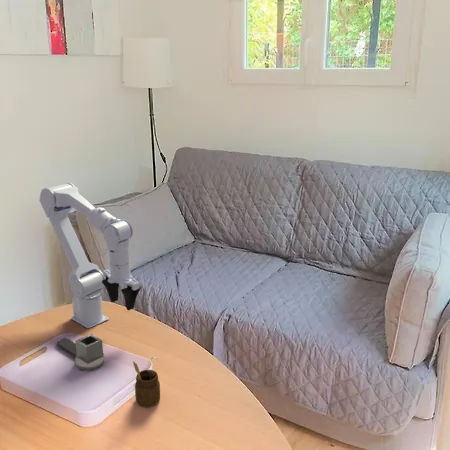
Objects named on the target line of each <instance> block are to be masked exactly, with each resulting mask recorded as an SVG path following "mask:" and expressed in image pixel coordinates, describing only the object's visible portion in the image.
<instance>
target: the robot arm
mask: <svg viewBox="0 0 450 450" xmlns="http://www.w3.org/2000/svg"><path fill="white" fill-rule="evenodd" d="M39 202H40V205H41V207H42V209H43V212H44V213H45V216H46V218H48V219H49V221H50V224H51V227H52V228H53V230H54V232H55V234H56V237H57V239H58V241H59V243H60V245H61V249H62V250H63V252H64V253H65V256H66V259H67V260H68V262H69V265H70V266H71V269H72V270H70V273H69V275H68V278H67V279H68V282H69V286H70V291H71V293H72V295H73V296H72V299H71V304H72V314H73V315H72V316H71V320H72V321H75V322H76V323H78V324H80V325H81V326H83V327H85V328H86V329H89V328H92V327H94V326H97V325H99V324H102V323H104V322H106V321H108V320H109V317H108V316H106V315H104V312H103V297H102V293H104V288H105V289H106V292H107V294H108V297H109V300H110V302H111V303H114V302H116V301H118V300H119V290H120V292H121V293H122V295H123V297H124V303H125V308H126V311H131V310H133V309H135V305H136V300H137V297H138V294H139V293H140V291H141V288H142V287H141V285H140V281H137V279H135V278H134V277H133V275H132V274H131V258H130V241H129V239H131V238H132V236H133V226H132V224H131V223H130V222H129V221H128V220H126V219H120V218H116V216H114V215H112V214H111V213H110V212H108V211H107V210H106V209H105V208H104V207H95V206H94V205H93V204H91V203H90V201H88V200H87V199H86V198H85V197H84V196H82V195H81V194H80V191H79V188H78V187H77V186H75V184H73V183H72V182H66V183H62V184H59V185H54V186H50V187H45V188H43V189H41V192H40V194H39ZM72 209H74V210H75V211H77V212H78V213H81V214H82V215H84V216H85V217H87V222H88V224H89V225H91V227H93V228H95V229H96V230H98V231H99V232H100V233H101V234H102V236H103V239H104V241H105V243H106V248H107V249H108V259H109V268H106V269H105V270H101V269H100V267H99V265H97V264H96V263H92V262H90V261H89V259H88V258H87V255H86V253H85V250H84V248H83V246H82V243H80V239H79V238H78V235H77V234H76V231H75V229H74V227H73V225H72V223H71V220H70V218H69V213H70V212H71V211H72ZM102 271H103V272H102ZM120 285H125V286H126V287H124V288H122V289H119V287H120Z"/></svg>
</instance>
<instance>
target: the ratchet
mask: <svg viewBox="0 0 450 450" xmlns="http://www.w3.org/2000/svg"><path fill="white" fill-rule="evenodd" d="M55 345H56V347H57V348H59V349H60V350H62V351H64V352H65V353H67V354H68V355H69V356H71V357H72V358H73V359H74V360H75V367H76V368H77V369H78V370H80V371H85V372H86V371H87V372H88V371H89V372H91V371H95V370H97V369H99V368H101V367H102V366H104V364H105V353H104V352H103V357H101V358H99V359H97V360H95V361H93V362H91V363H89V364H87V363H85V362H84V361H82V360H81V359H79V358H78V357H77V352H76V342H75V341H72V340H71V339H69V338H68V337H64V338H61V339H59V340H56V341H55Z"/></svg>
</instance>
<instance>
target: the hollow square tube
mask: <svg viewBox="0 0 450 450" xmlns="http://www.w3.org/2000/svg"><path fill="white" fill-rule="evenodd" d="M74 343H76V352H77V357H78V358H79V359H81V360H82V361H84V362H85V363H87V364H89V363H91V362H93V361H95V360H97V359H99V358H101V357H103V353H104V348H103V345H104V344H103V339H101V338H99V337H97V336H96V335H94V334H93V333H90V334H88V335H86V336H83V337H81V338H78V339H76V340H75V341H74Z"/></svg>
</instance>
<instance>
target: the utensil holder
mask: <svg viewBox="0 0 450 450" xmlns="http://www.w3.org/2000/svg"><path fill="white" fill-rule="evenodd" d="M152 360H153V361H152ZM157 360H158V358H156V357H154V356H153V357H151V358H150V361H149V362H148V364H147V365H148V366H151V361H152V362H155V361H157ZM132 363H133V368H134V370H135V372H136V373H137V374H136V378H135V384H134V392H135V402H136V404H137V405H138V406H139V407H142V408H150V407H154V406H156V405H157V404H158V403H159V402H160V400H161V384H160V381H159V374H158V373H157V370H158V369H159V367H158V366H156V367H155V366H154V365H152V368H154V367H155V370H154V369H144V370H140V369H139V366H138V363H136V362H135V361H134V360H133V361H132Z"/></svg>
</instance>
